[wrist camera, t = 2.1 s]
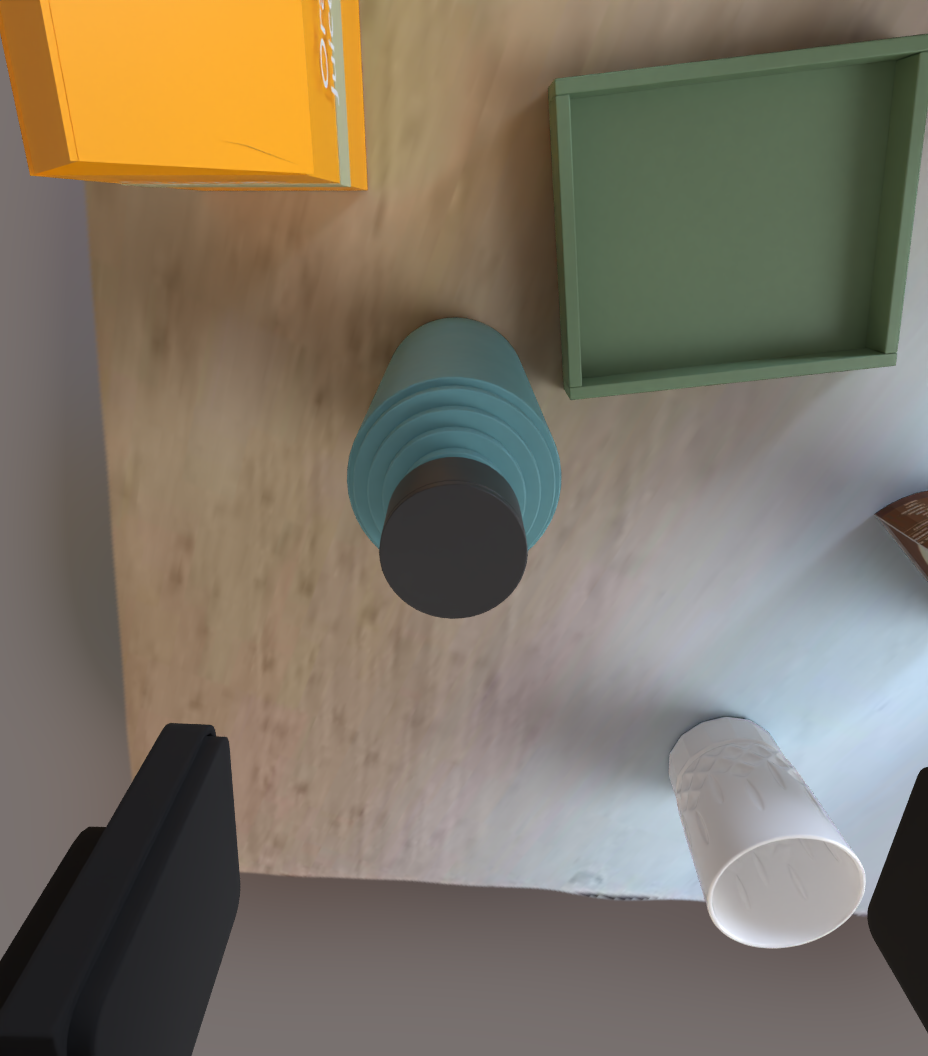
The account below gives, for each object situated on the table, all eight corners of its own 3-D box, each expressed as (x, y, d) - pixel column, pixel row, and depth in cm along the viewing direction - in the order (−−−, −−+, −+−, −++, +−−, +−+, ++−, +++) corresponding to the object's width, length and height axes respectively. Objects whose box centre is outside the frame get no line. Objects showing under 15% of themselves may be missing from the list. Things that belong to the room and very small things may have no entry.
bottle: (375, 325, 36) (297, 434, 18) (519, 309, 35) (580, 404, 18) (396, 462, 38) (345, 671, 21) (530, 449, 38) (591, 648, 21)
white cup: (697, 691, 44) (760, 816, 35) (809, 731, 45) (898, 862, 36) (635, 786, 47) (679, 925, 38) (742, 821, 48) (809, 964, 39)
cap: (377, 464, 20) (368, 492, 18) (515, 449, 20) (522, 476, 18) (397, 585, 22) (390, 625, 20) (525, 573, 22) (532, 611, 20)
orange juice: (198, 192, 33) (-121, 166, 15) (167, -48, 30) (-300, -467, 11) (372, 192, 33) (267, 166, 15) (361, -48, 30) (207, -465, 11)
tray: (547, 87, 32) (554, 78, 30) (905, 44, 31) (937, 32, 29) (563, 389, 37) (570, 400, 35) (870, 357, 36) (896, 365, 34)
